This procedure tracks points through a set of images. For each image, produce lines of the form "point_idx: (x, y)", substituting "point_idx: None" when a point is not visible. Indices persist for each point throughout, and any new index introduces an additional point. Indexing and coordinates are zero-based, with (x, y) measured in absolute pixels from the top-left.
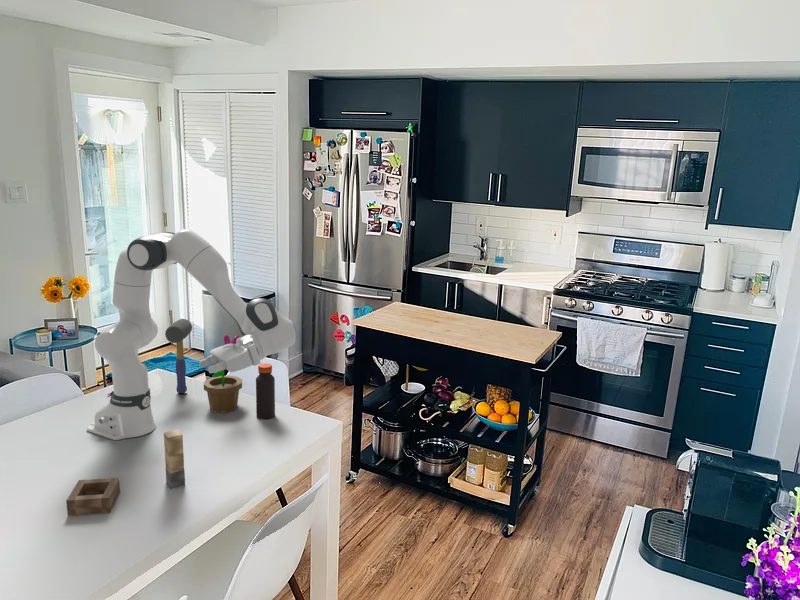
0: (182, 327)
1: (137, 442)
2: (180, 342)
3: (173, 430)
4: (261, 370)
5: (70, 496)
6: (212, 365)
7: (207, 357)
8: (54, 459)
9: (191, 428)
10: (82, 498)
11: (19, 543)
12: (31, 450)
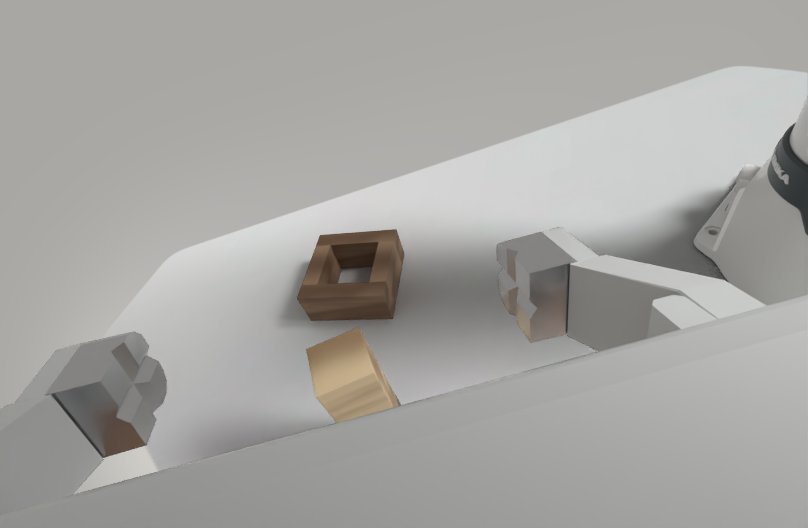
0: None
1: None
2: None
3: (368, 357)
4: None
5: (332, 236)
6: (82, 379)
7: (655, 277)
8: (571, 173)
9: None
10: (316, 255)
11: (280, 226)
12: (614, 132)
